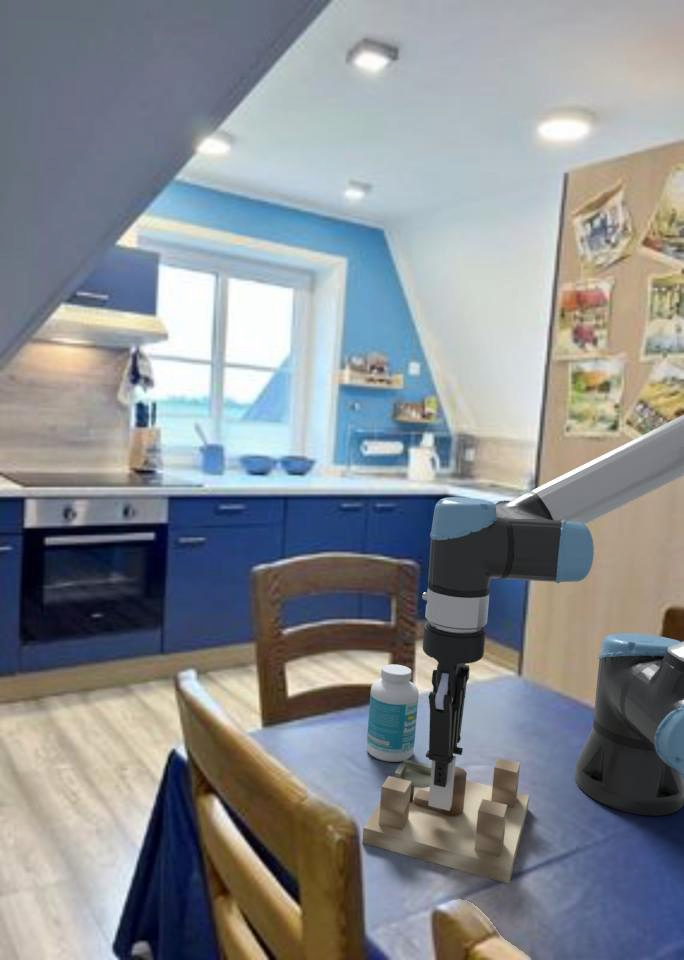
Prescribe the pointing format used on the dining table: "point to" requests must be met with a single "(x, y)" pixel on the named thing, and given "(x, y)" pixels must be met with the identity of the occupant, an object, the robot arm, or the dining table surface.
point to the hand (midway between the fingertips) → (440, 805)
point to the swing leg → (458, 794)
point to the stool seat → (452, 822)
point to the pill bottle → (392, 715)
